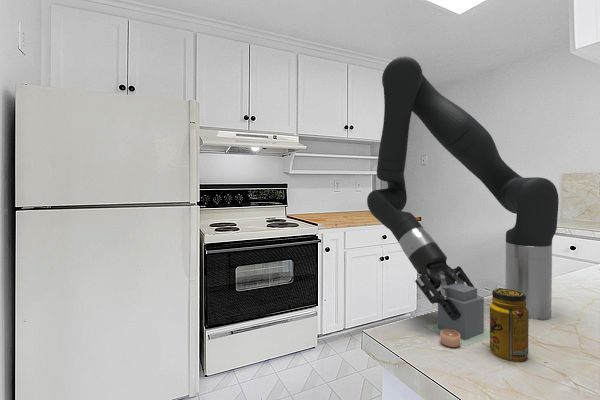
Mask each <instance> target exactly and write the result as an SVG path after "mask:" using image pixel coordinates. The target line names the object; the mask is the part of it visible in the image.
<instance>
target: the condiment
mask: <svg viewBox="0 0 600 400" xmlns="http://www.w3.org/2000/svg"><path fill="white" fill-rule="evenodd" d="M491 294H492V295H491V296H492V298H491V301H492V302H491V303H490V304H489V331H490V338H489V348H490V353H492V355H494V356H495V357H497V358H498V359H501V360H505V361H506V362H513V363H524V362H527V360H529V320H530V318H529V312H528V310H527V308H526V296H525V294H524V293H522V292H520V291H517V290H513V289H506V288H505V287H504V288H494V289H493V290H492V293H491ZM544 363H545V364H546V363H547V364H550V363H551V364H552V362H546V361H544Z"/></svg>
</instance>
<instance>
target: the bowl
mask: <svg viewBox="0 0 600 400" xmlns="http://www.w3.org/2000/svg"><path fill="white" fill-rule="evenodd" d="M439 335H440V340H439V341H440V343H441V344H443V346H446V347H449V348H458V347H460V346H461V344H460V333H459V332H457V331H455V330H451V329H443V330H441V331H440V334H439Z"/></svg>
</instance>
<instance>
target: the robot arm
mask: <svg viewBox="0 0 600 400" xmlns="http://www.w3.org/2000/svg"><path fill="white" fill-rule="evenodd" d="M381 82H382V83H381V85H382V88H383V101H384V103H383V104H384V106H383V107H384V109H383V110H384V111H383V113H384V115H383V124H382V131H381V135H380V136H381V137H380V142H379V148H378V157H377V165H376V166H377V167H376V177H377V179H378V180H380V181H382V182H386V183H387V188H379V189H375V190H372V191H370V193H369V194H368V196H367V199H366V204H367V205H366V206H367V209H368V210H369V212H370V214H371V215H372V216H373V217H374V218H376V219H377V221H379V222H380V223H381V224H382V225H383V226H384V227H385V228H386V229H388V230H389V231H390V232H391V233H392V235H393V236H394V238H395V239H396V241H397V242H398V244H399V245H400V247H401V249H402V251H403V253H404V255H405V256H406V257H407V259H408V260H409V262H410V264H411V265H412V266H413V268H414V269H415V271H416V272H417V274H418V275H420V276H418V277H417V278H416V279H415V280H414V282H415V284H416V285H417V286H418V288H419V289H420V290H421V292H422V293H423V295H424V296H425V297H426V299H427V300H428V301H429V302H430V304H437V305H438V304H439V305H441V306H442V307H443V309H444V310H445V312H446V313H447V315H448V316H449V317H450V318H451V319H452V320H456V319H458V318H459V317H460V316H461V314H460V313H459V311H458V310H457V308H456V307H455V306H454V304H453V303H452V301H451V300H448V299H449V297H448V294H447V289H448V288H447V286H448V285H451V284H455V283H459V284H463V285H467V286H470V287H474V288H475V286H474V284H473V283H472V282H471V280H470V279H469V277H468V276H467V274H466V273H465V271H464V270H463V268H462V267H461V266H457V267H455V268H452V267H450V265H448V264H447V258H448V257H447V255H446V254H445V252H443V250H442V249H441V247H440V246H439V245H438V244H437V243H436V241H435V239H433V237H432V236H431V235H430V233H429V232H428V231H427V230H426V229H425V228H424V227H423V225H421V223H420V222H419V221H418V219H417V218H416V216H414V214H413V213H411V212H407V211H403V210H404V209H405V206H406V205H407V200H408V195H407V187H406V181H405V168H406V161H407V155H408V154H407V152H408V143H409V132H410V123H411V118H412V113H413V114H414V115H416V116H417V118H418V119H419V120H420V121H421V122H422V123H423V124H424V126H425V127H426V128H427V130H428V131H429V132H430V134H431V135H432V136H433V138H435V140H436V141H438V143H440V145H441V146H442V147H443V148H444V149H445V150H446V151H447V152H449V153H450V155H452V156H453V157H454V158H455V159H456V160H457V161H458V162H459V163H460V164H462V165H463V166H464V167H465V168H466V169H467V170H468V171H469V172H470V173H471V174H472V175H474V176H475V177H476V178H477V179H478V180H479V181H480V182H481V183H482V184H483V185H484V186H485V187H486V189H488V191H489V193H491V194H492V196H493V197H494V198H495V199H496V200H497V201H498V203H499V204H500V205H501V206H502V207H503V208H504V209H505V210H506V211H508V212H509V213H512V214H516V216H515V218H516V219H515V224H514V226H513V227H512V228H510V229H508V230H507V231H506V233H505V289H513V290H517V291H520V292H522V293H524V294H525V296H526V308H527V310H528V312H529V320H530V319H532V320H538V321H539V320H549V319H551V318H552V297H553V296H552V295H553V294H552V291H553V289H552V286H553V282H552V280H553V274H552V273H553V271H552V270H553V264H552V263H553V238H554V236H555V234H556V232H557V230H558V229H557V228H558V218H559V217H558V216H559V202H560V201H559V198H560V197H559V193H558V189H557V186H556V185H555V183H553V181H551V180H550V179H548V178H544V177H539V176H537V177H536V176H535V177H532V176H531V177H523V176H522V175H519V174H518V173H517V172H516V171H515V170H513V168H511V167H510V166H509V165H508V164H507V163H506V162H505V161H504V160H503V159H502V157H501V155H500V153H499V151H498V148H497V145H496V143H495V141H494V139H493V137H492V135H491V133H490V132H489V131H488V130H487V129H486V128H485V127H484V126H483V125H482V124H481V123H480V122H479V121H478V120H476V118H474V117H473V116H472V115H471V114H470V113H468V111H466V110H465V109H463V108H462V107H461V106H459V105H458V104H456V103H455V102H453V101H451V100H450V99H448V98H447V97H445V96H444V95H443V94H441V93H440V92H439V91H438V90H437V89H436V88H435V86H433V85H432V83H430V81H429V80H428V79H427V78H426V77H425V75H424V74H423V69H422V66H421V65H420V63H419V62H418V61H417V60H416V59H414V58H413V57H411V56H399V57H396V58H395V59H392V60H391V61H390V62H389V63H388V64H387V65H386V66H385V68H384V70H383V73H382V77H381ZM441 294H442V295H441Z"/></svg>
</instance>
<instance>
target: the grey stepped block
mask: <svg viewBox="0 0 600 400" xmlns="http://www.w3.org/2000/svg"><path fill="white" fill-rule="evenodd" d="M447 288H448V289H447V294H448V297H449V299H448V300H451V301H452V303H453V304H454V306H455V307H456V308H457V310H458V311H459V313H460V314H461V316H460V317H459V318H458V319H456V320H452V319H451V318H450V317H449V316H448V315H447V313H446V312H445V310H444V309H443V307H442V306H441V305H439V304H438V303H437V323H438V329H440V330H443V329H451V330H455V331H457V332H459V333H460V338H461V339H463V340H467V339H470V338H472V337H475V336H477V335H479V334H482V333H484V328H485V298H484V297H482V296H480V295H479V296H478V288H477V287H475V286H474V287H470V286H468V285H467V284H464V285H463V284H459V283H457V282H455V284H451V285H448V286H447ZM441 295H442V294H441Z"/></svg>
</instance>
